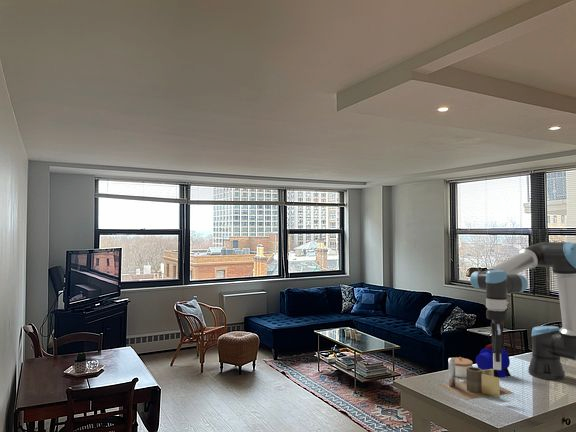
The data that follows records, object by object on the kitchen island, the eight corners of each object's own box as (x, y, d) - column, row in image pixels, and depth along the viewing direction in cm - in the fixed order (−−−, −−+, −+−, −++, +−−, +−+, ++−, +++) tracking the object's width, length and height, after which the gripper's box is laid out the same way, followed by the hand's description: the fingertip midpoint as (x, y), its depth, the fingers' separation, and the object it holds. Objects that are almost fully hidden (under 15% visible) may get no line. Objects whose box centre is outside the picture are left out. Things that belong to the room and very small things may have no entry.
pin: (452, 384, 188) (452, 357, 188) (456, 387, 185) (456, 359, 186) (447, 385, 187) (447, 357, 187) (451, 387, 184) (451, 359, 185)
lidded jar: (465, 382, 194) (465, 362, 194) (444, 376, 202) (443, 356, 203) (477, 377, 201) (476, 357, 201) (455, 372, 209) (455, 352, 209)
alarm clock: (511, 376, 203) (511, 344, 204) (492, 379, 199) (492, 347, 199) (490, 368, 214) (490, 338, 215) (472, 371, 210) (472, 341, 210)
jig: (483, 381, 195) (482, 359, 196) (514, 395, 178) (513, 371, 179) (438, 386, 189) (438, 363, 189) (466, 402, 171) (466, 376, 172)
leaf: (499, 397, 173) (499, 377, 173) (499, 397, 172) (498, 378, 173) (482, 392, 178) (482, 373, 178) (481, 392, 178) (481, 374, 178)
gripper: (509, 312, 162) (510, 375, 161) (504, 307, 174) (504, 365, 173) (488, 311, 164) (489, 373, 163) (484, 306, 177) (484, 363, 176)
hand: (497, 369), depth 168 cm, fingers closed
